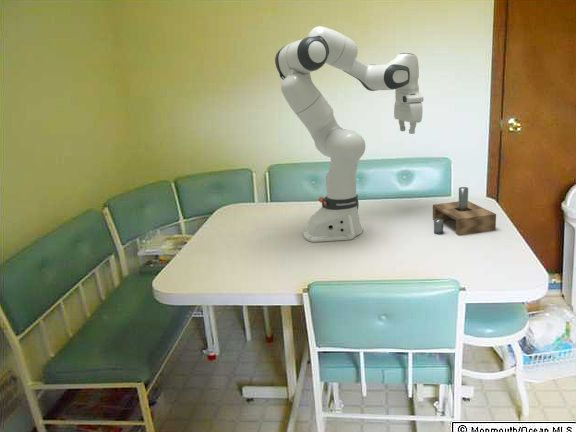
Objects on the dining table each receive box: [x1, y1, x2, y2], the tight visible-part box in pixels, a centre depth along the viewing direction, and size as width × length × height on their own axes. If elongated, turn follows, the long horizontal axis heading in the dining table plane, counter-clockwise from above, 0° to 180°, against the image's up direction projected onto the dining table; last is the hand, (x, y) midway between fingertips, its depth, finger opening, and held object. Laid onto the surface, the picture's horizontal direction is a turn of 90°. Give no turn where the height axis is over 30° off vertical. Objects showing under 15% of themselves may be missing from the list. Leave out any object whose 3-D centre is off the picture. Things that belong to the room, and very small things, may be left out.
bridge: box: [432, 200, 497, 236], centre depth 180 cm, size 14×20×6 cm
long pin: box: [458, 186, 469, 212], centre depth 178 cm, size 3×3×14 cm
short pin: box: [433, 218, 444, 235], centre depth 173 cm, size 3×3×5 cm
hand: (407, 132), depth 193 cm, fingers open, 8 cm apart
